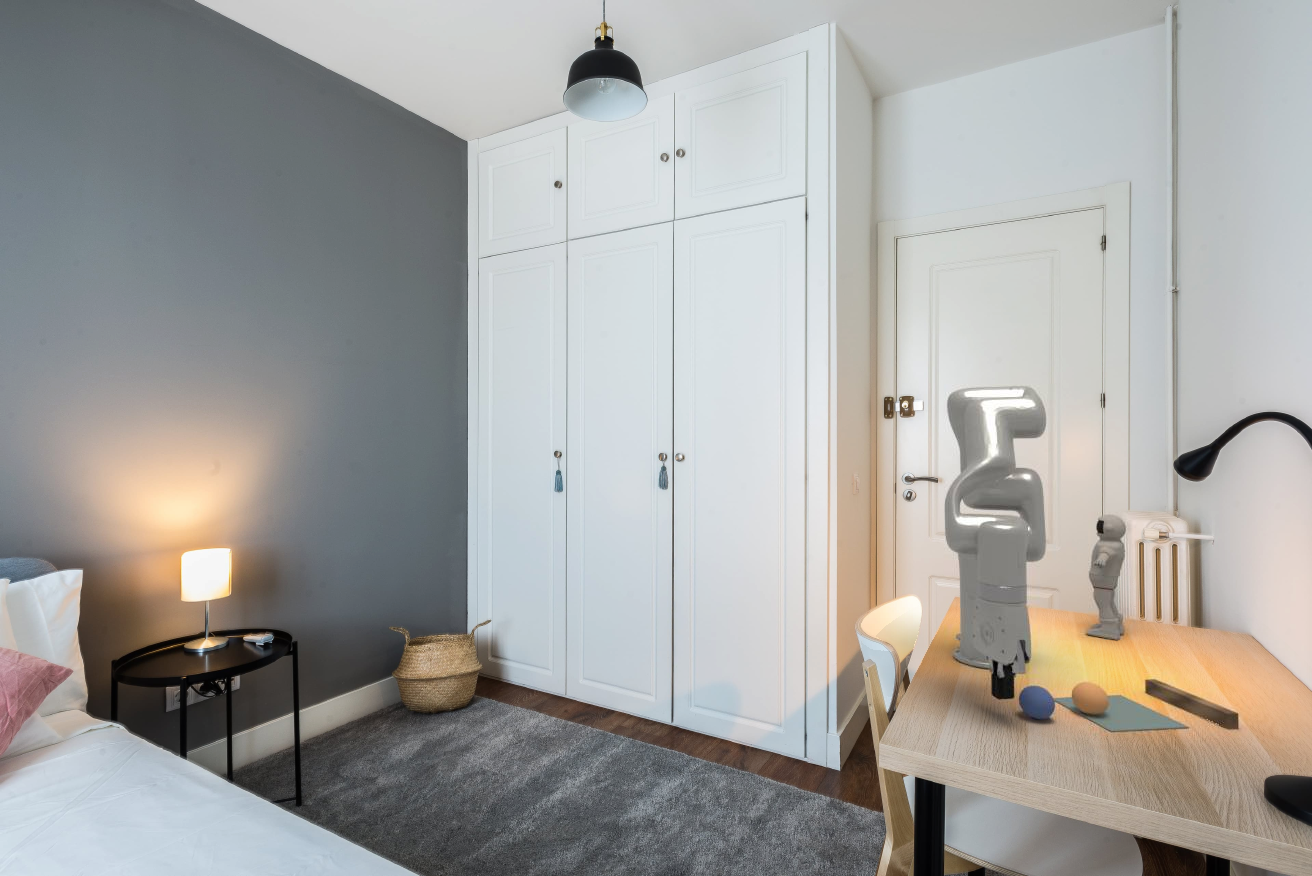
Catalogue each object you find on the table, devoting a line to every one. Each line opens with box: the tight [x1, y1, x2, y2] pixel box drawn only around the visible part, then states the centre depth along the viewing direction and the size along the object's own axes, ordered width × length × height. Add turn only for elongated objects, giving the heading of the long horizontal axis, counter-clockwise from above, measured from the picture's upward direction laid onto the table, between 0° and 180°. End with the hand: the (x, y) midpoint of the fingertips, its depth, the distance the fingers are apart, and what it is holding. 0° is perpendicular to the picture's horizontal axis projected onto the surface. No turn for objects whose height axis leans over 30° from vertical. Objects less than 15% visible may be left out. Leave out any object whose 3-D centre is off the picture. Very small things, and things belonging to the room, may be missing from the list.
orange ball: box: [1071, 681, 1109, 715], centre depth 113 cm, size 5×5×5 cm
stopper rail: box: [1144, 678, 1240, 730], centre depth 115 cm, size 16×2×2 cm, turn 6°
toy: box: [1085, 514, 1127, 641], centre depth 161 cm, size 29×8×30 cm, turn 136°
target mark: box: [1053, 694, 1190, 733], centre depth 114 cm, size 14×14×1 cm
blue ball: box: [1018, 685, 1056, 720], centre depth 112 cm, size 5×5×5 cm
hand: (1002, 697), depth 113 cm, fingers closed
